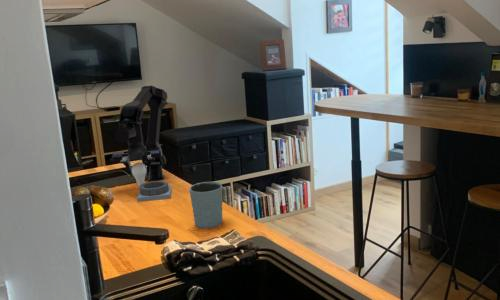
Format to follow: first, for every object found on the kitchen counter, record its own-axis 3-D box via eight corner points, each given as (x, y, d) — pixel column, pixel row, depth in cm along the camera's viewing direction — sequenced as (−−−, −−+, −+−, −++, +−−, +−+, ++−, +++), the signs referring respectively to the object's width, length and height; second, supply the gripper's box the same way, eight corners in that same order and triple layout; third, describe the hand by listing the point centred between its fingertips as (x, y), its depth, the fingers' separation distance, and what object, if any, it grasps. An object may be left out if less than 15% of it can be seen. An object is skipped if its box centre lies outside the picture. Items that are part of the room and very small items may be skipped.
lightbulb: (151, 186, 192) (148, 160, 190) (146, 191, 186) (143, 164, 184) (136, 187, 193) (133, 161, 190) (131, 191, 187) (128, 164, 184)
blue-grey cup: (208, 215, 155) (205, 180, 152) (232, 221, 148) (229, 184, 146) (186, 225, 147) (182, 188, 144) (209, 232, 141) (205, 193, 138)
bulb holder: (140, 192, 186) (139, 182, 185) (171, 188, 187) (170, 179, 186) (137, 201, 174) (136, 191, 173) (170, 198, 175) (169, 187, 174)
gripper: (107, 143, 176) (112, 184, 179) (157, 138, 178) (162, 178, 181) (111, 138, 187) (117, 176, 190) (159, 133, 189) (164, 171, 192)
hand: (139, 175), depth 188 cm, fingers closed on lightbulb, 6 cm apart
